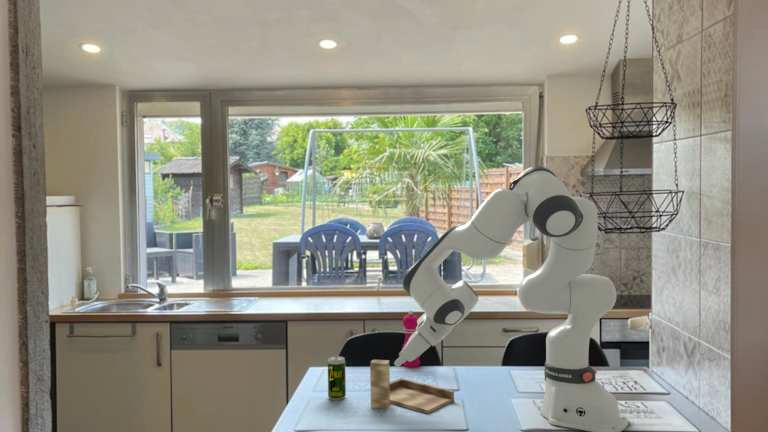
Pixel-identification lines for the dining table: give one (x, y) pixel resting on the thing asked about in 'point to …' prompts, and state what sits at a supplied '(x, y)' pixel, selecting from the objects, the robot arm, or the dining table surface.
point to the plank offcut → (380, 383)
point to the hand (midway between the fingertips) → (398, 360)
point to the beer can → (336, 378)
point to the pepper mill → (409, 329)
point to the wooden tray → (419, 395)
